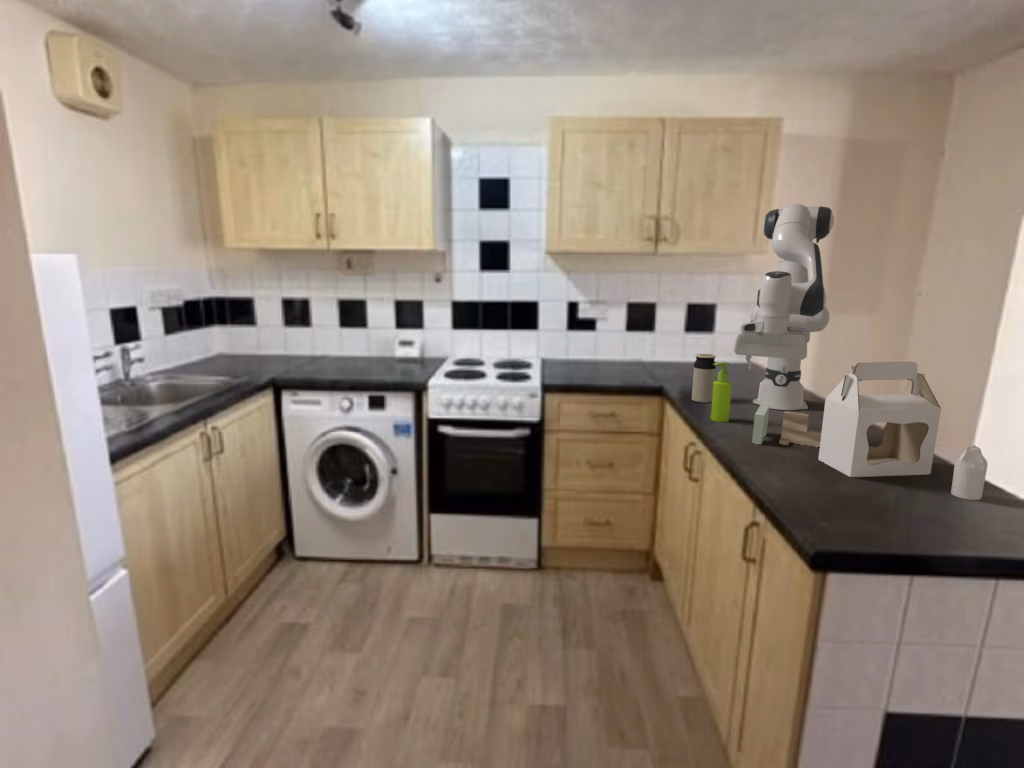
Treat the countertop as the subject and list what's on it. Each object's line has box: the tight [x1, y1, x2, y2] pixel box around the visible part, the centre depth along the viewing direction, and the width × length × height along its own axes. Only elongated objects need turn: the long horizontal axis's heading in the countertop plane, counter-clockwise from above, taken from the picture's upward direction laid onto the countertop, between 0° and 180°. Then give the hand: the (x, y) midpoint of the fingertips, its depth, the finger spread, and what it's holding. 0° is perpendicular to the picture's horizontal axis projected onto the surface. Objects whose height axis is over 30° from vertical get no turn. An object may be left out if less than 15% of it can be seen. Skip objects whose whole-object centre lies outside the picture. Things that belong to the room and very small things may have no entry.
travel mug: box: [691, 353, 717, 404], centre depth 219 cm, size 8×8×18 cm
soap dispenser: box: [710, 361, 733, 423], centre depth 191 cm, size 6×7×20 cm
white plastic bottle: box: [950, 444, 988, 501], centre depth 129 cm, size 6×12×6 cm
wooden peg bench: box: [778, 410, 822, 448], centre depth 165 cm, size 8×18×9 cm, turn 60°
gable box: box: [817, 361, 942, 478], centre depth 146 cm, size 22×13×28 cm, turn 95°
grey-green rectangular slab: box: [751, 404, 771, 445], centre depth 172 cm, size 14×2×9 cm, turn 150°
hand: (767, 371), depth 173 cm, fingers open, 8 cm apart
